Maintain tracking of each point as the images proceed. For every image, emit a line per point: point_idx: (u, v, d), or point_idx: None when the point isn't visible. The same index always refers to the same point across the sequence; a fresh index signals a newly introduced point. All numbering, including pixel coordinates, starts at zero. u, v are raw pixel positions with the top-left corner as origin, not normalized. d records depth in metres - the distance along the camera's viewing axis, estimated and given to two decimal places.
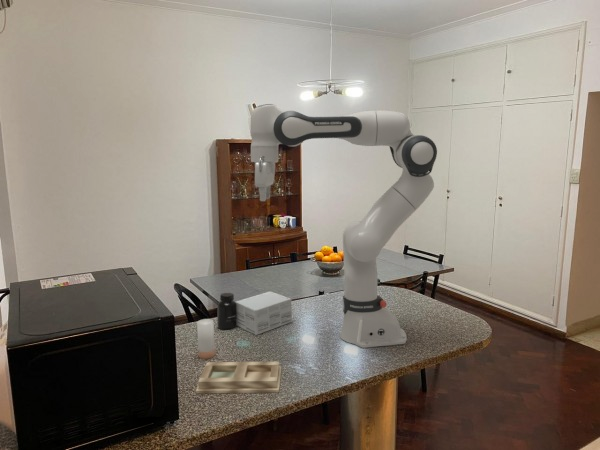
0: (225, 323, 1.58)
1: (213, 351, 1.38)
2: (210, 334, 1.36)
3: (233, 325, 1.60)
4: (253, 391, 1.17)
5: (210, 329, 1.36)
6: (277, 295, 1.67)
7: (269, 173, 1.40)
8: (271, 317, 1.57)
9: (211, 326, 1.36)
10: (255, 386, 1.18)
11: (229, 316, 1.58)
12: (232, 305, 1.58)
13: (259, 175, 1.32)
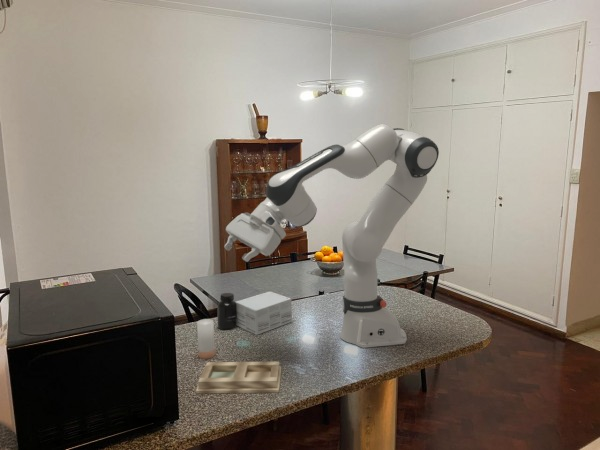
0: (225, 323, 1.58)
1: (213, 351, 1.38)
2: (210, 334, 1.36)
3: (233, 325, 1.60)
4: (253, 391, 1.17)
5: (210, 329, 1.36)
6: (277, 295, 1.67)
7: (246, 227, 1.35)
8: (272, 317, 1.58)
9: (211, 326, 1.36)
10: (255, 386, 1.18)
11: (230, 316, 1.58)
12: (232, 305, 1.58)
13: None
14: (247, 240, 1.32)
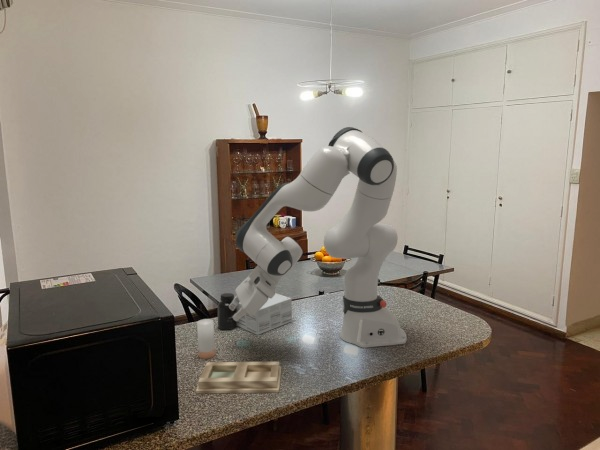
0: (226, 323, 1.58)
1: (213, 351, 1.38)
2: (210, 334, 1.36)
3: (234, 325, 1.60)
4: (253, 391, 1.17)
5: (210, 329, 1.36)
6: (277, 295, 1.67)
7: (245, 288, 1.40)
8: (272, 317, 1.58)
9: (211, 326, 1.36)
10: (255, 386, 1.18)
11: (230, 316, 1.58)
12: None
13: None
14: (240, 300, 1.36)
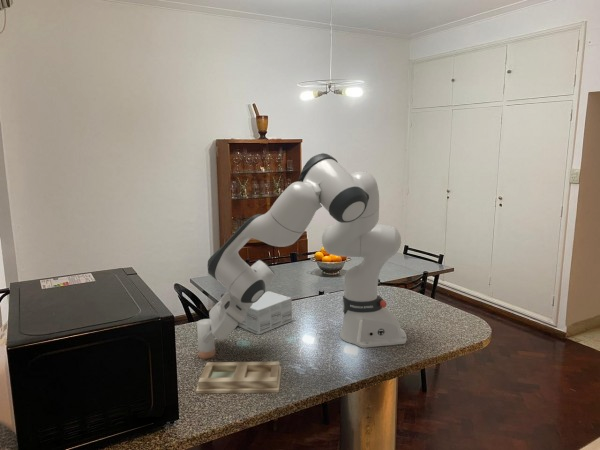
0: None
1: (213, 351, 1.38)
2: None
3: None
4: (253, 391, 1.17)
5: (210, 329, 1.36)
6: (277, 295, 1.67)
7: (218, 311, 1.40)
8: (273, 316, 1.58)
9: None
10: (255, 386, 1.18)
11: None
12: None
13: None
14: (211, 324, 1.36)
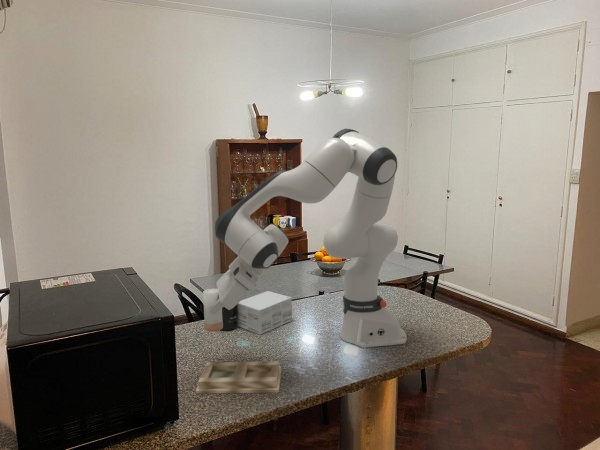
0: (227, 324, 1.57)
1: (221, 323, 1.26)
2: None
3: (235, 326, 1.59)
4: (253, 391, 1.17)
5: (217, 299, 1.24)
6: (277, 294, 1.68)
7: (226, 280, 1.28)
8: (274, 316, 1.58)
9: (218, 295, 1.25)
10: (255, 386, 1.18)
11: (231, 317, 1.57)
12: None
13: None
14: (219, 293, 1.24)
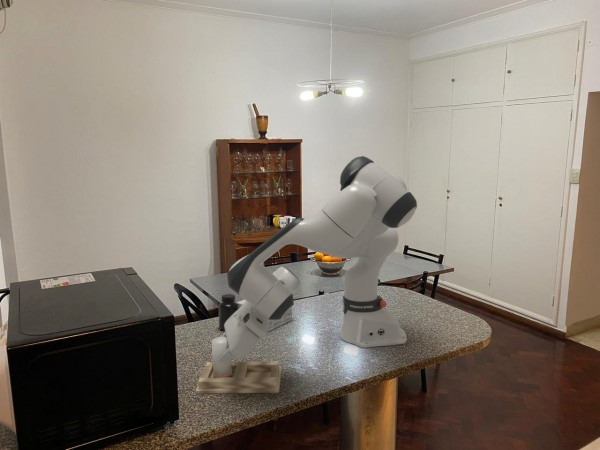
0: None
1: (230, 373, 1.22)
2: None
3: None
4: (253, 391, 1.17)
5: None
6: None
7: (235, 324, 1.24)
8: None
9: (228, 345, 1.21)
10: (255, 386, 1.18)
11: None
12: (234, 306, 1.57)
13: None
14: (228, 339, 1.20)
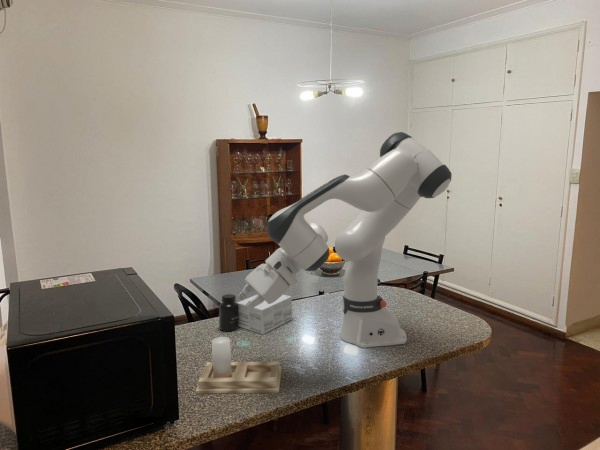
0: (229, 325, 1.57)
1: (230, 373, 1.22)
2: (227, 354, 1.20)
3: (236, 326, 1.59)
4: (253, 391, 1.17)
5: (227, 349, 1.20)
6: None
7: (260, 275, 1.25)
8: (275, 315, 1.59)
9: (228, 345, 1.20)
10: (255, 386, 1.18)
11: (233, 317, 1.57)
12: (235, 306, 1.57)
13: None
14: (255, 287, 1.20)
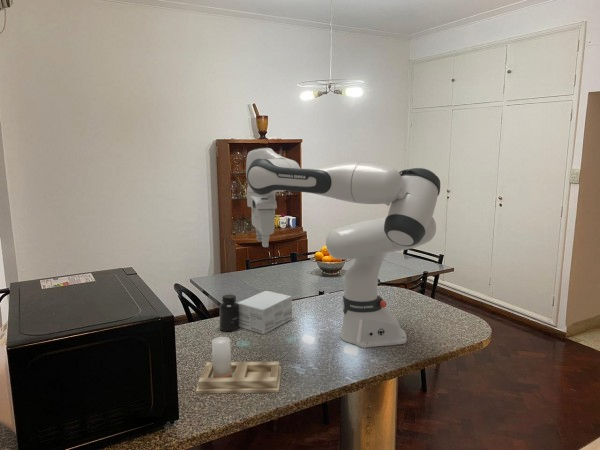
0: (229, 325, 1.56)
1: (230, 373, 1.22)
2: (227, 354, 1.20)
3: (237, 326, 1.58)
4: (253, 391, 1.17)
5: (227, 349, 1.20)
6: (276, 294, 1.68)
7: (255, 216, 1.40)
8: (276, 315, 1.59)
9: (228, 345, 1.20)
10: (255, 386, 1.18)
11: (234, 317, 1.57)
12: (236, 306, 1.57)
13: None
14: (257, 229, 1.37)
